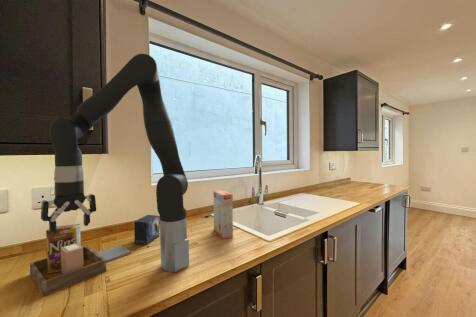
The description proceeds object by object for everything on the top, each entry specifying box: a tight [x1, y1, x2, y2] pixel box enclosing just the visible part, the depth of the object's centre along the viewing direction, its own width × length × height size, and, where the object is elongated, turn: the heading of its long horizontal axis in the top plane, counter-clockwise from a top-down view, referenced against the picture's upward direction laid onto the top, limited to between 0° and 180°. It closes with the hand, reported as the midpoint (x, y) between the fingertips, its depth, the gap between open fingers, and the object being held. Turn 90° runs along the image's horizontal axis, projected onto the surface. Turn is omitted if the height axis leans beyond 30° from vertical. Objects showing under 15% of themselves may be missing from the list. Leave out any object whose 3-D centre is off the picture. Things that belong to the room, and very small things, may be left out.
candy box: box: [45, 223, 82, 274], centre depth 77 cm, size 9×4×15 cm, turn 109°
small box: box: [133, 214, 160, 246], centre depth 102 cm, size 11×6×10 cm, turn 168°
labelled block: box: [61, 243, 85, 275], centre depth 72 cm, size 6×4×10 cm
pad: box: [96, 244, 132, 264], centre depth 87 cm, size 10×12×1 cm
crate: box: [29, 245, 107, 297], centre depth 75 cm, size 19×17×4 cm
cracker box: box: [212, 189, 234, 240], centre depth 109 cm, size 14×6×21 cm, turn 22°
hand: (70, 228), depth 72 cm, fingers open, 8 cm apart
